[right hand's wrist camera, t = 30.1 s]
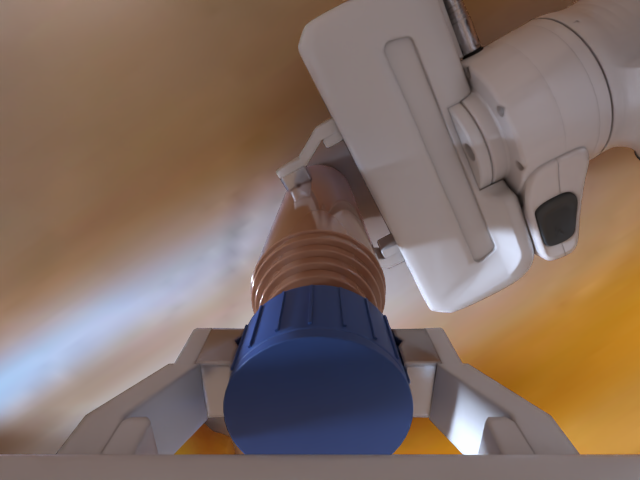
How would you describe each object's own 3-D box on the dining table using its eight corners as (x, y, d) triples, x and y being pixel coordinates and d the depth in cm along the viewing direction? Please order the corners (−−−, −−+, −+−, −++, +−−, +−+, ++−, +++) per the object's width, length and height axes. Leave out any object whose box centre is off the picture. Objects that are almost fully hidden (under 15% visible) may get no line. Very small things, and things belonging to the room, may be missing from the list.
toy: (253, 481, 36) (136, 531, 38) (251, 418, 41) (147, 466, 43) (177, 452, 29) (39, 515, 31) (185, 380, 34) (65, 439, 36)
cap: (254, 413, 11) (238, 487, 9) (229, 287, 10) (203, 341, 7) (395, 404, 11) (413, 478, 9) (394, 275, 10) (416, 326, 7)
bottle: (276, 179, 28) (173, 346, 8) (338, 154, 28) (383, 271, 8) (301, 236, 30) (266, 486, 10) (360, 214, 29) (445, 436, 10)
